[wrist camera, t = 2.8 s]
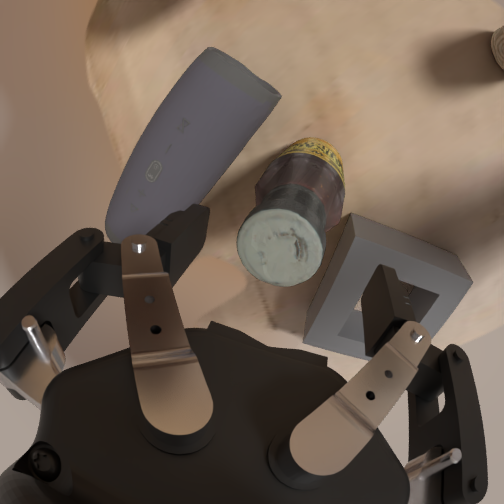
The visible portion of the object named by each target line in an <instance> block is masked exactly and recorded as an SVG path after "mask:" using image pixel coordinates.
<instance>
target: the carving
mask: <svg viewBox="0 0 504 504" xmlns="http://www.w3.org/2000/svg"><path fill="white" fill-rule="evenodd" d="M491 48H492V52H493V55H494V57H495V59H496V61H497V63H498V64H499V65H500V67H501V68H502V69H503V70H504V26H502V27H501V28H499V29H497V30H496V31H495V32H494V33H493V35H492V39H491Z"/></svg>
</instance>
